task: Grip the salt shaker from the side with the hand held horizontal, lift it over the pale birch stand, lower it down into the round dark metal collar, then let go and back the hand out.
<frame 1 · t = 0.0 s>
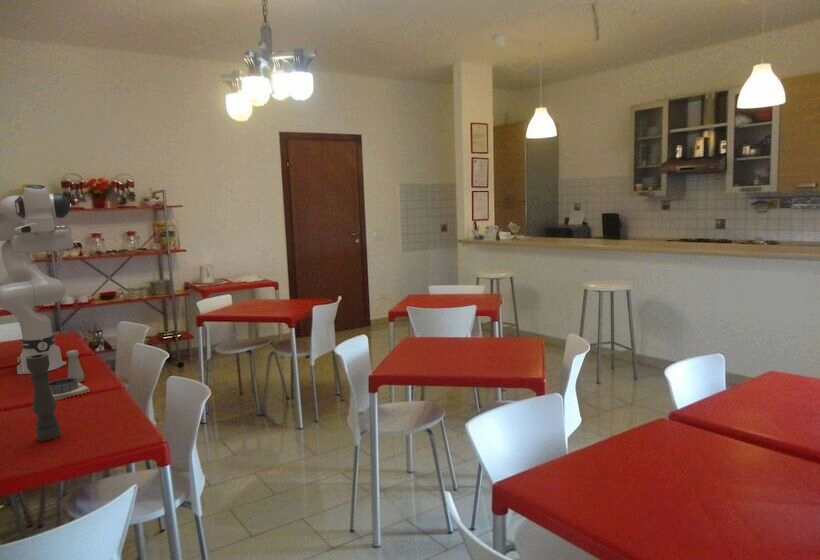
hand: (46, 262, 233), 48 cm above the table, tool pointing down, fingers open, 8 cm apart
salt shaker: (76, 383, 237), on the table
metal collar: (62, 386, 222), on the birch stand, point 3 cm above the table
candle holder: (49, 437, 180), on the table
birch stand: (63, 393, 223), on the table
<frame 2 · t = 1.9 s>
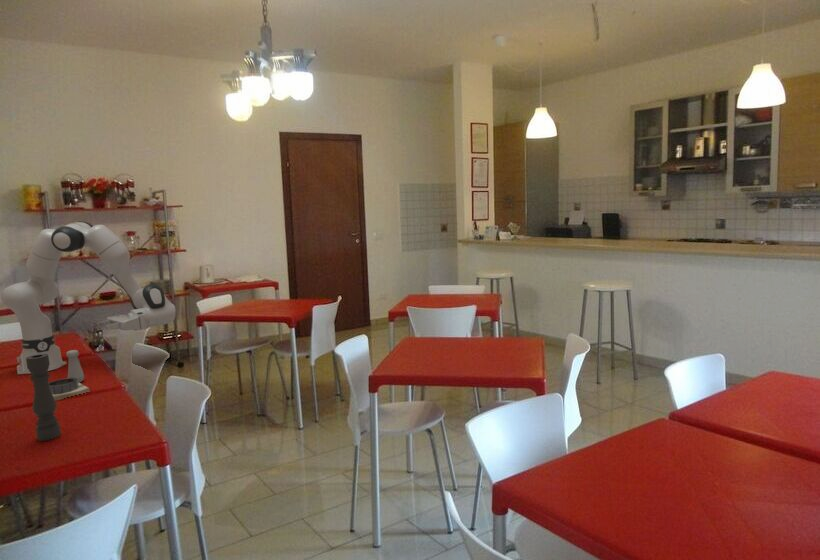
hand: (102, 326, 242), 20 cm above the table, tool horizontal, fingers open, 8 cm apart
nothing on the table moved.
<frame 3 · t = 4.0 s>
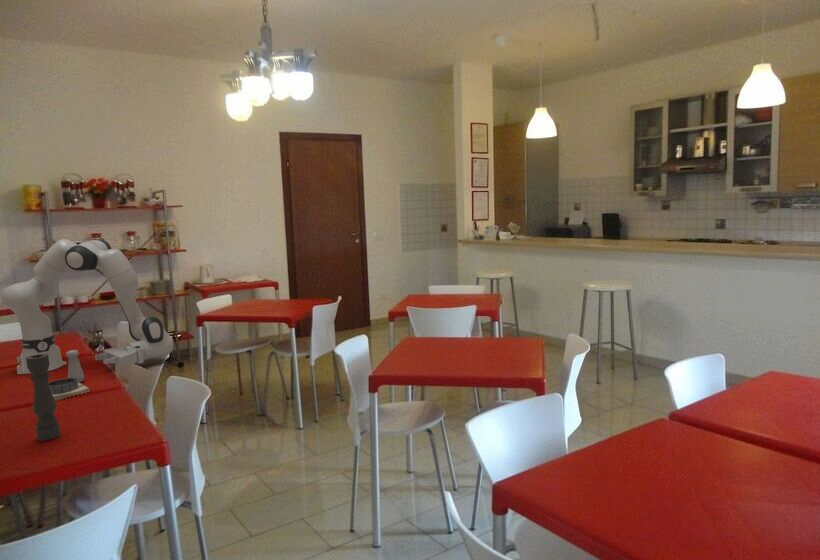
hand: (99, 360, 243), 7 cm above the table, tool horizontal, fingers open, 8 cm apart
nothing on the table moved.
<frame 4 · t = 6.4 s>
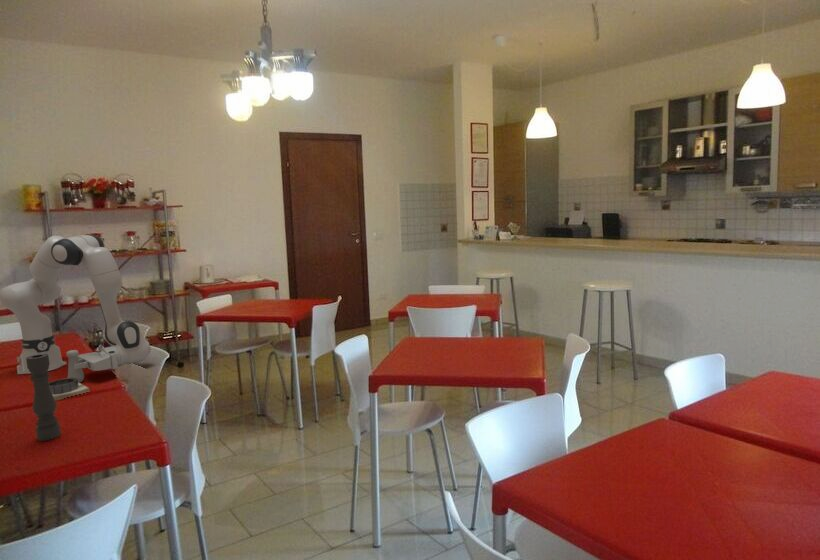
hand: (71, 365, 235), 7 cm above the table, tool horizontal, fingers closed on salt shaker, 3 cm apart
salt shaker: (76, 382, 237), on the table, touching gripper
everything else where it was.
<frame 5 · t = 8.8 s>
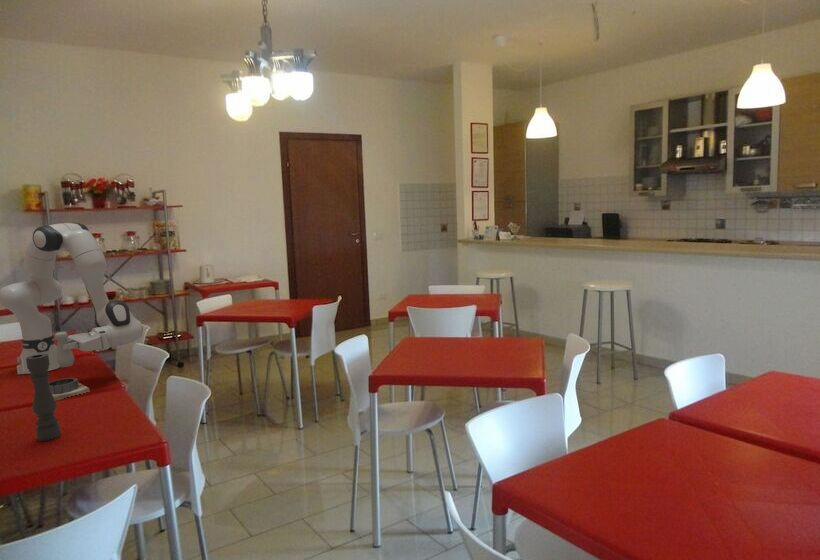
hand: (60, 346, 225), 17 cm above the table, tool horizontal, fingers closed on salt shaker, 3 cm apart
salt shaker: (67, 366, 227), point 9 cm above the table, touching gripper
everything else where it was.
when the fingers open (10 cm above the table, at t = 11.2 s): salt shaker stays where it is, resting on birch stand.
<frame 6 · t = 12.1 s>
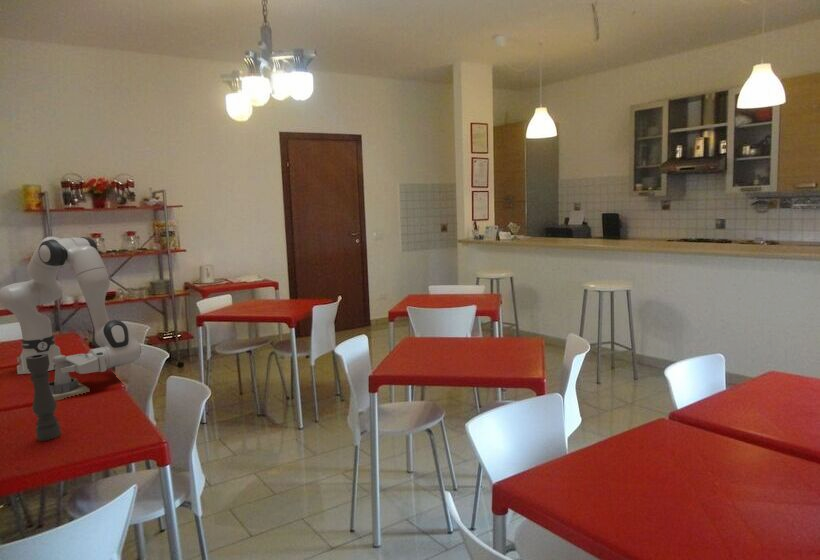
hand: (57, 368, 221), 10 cm above the table, tool horizontal, fingers open, 8 cm apart
salt shaker: (64, 390, 223), point 1 cm above the table, touching birch stand
everything else where it was.
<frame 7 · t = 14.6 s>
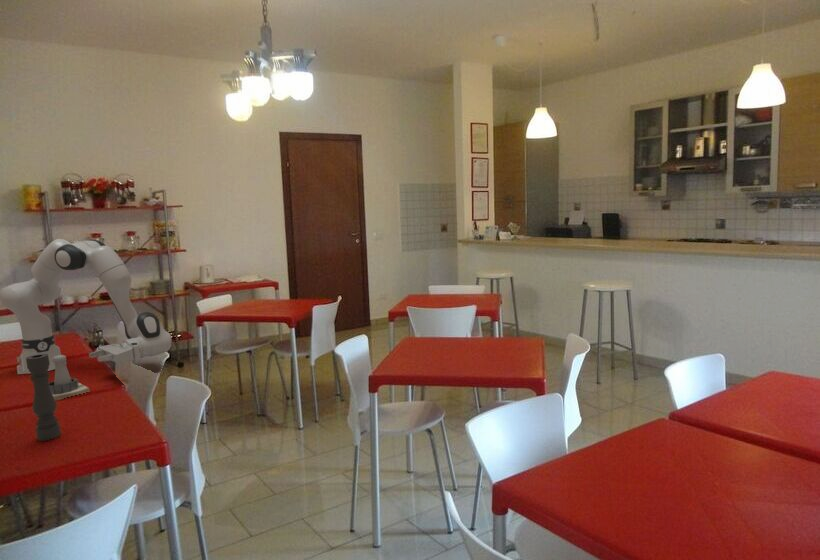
hand: (93, 357, 230), 11 cm above the table, tool horizontal, fingers open, 8 cm apart
nothing on the table moved.
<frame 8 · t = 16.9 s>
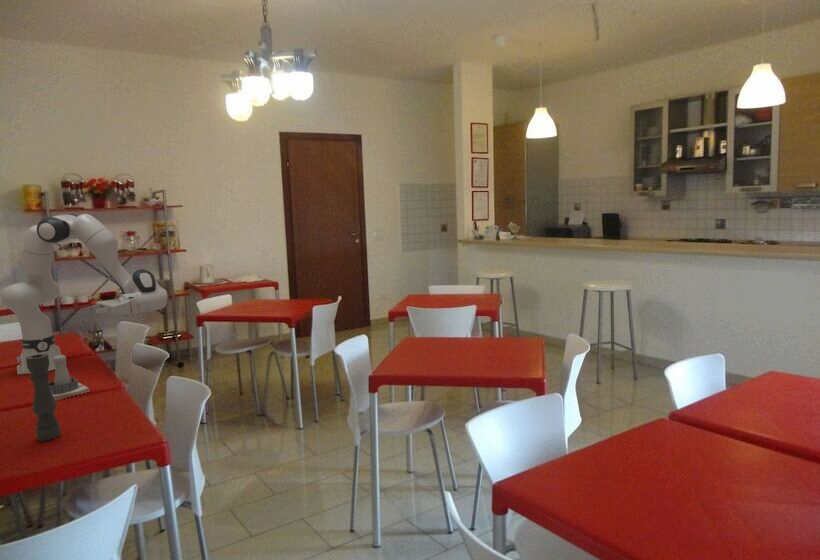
hand: (91, 310, 237), 28 cm above the table, tool horizontal, fingers open, 8 cm apart
nothing on the table moved.
at the end: salt shaker 0.4 cm off-centre on the metal collar, point 1.3 cm above the metal collar's base; salt shaker tilted 0°; the gripper is holding nothing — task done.
